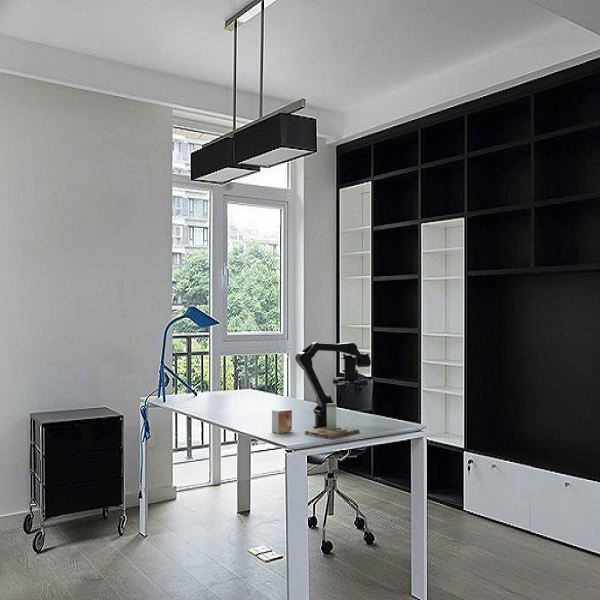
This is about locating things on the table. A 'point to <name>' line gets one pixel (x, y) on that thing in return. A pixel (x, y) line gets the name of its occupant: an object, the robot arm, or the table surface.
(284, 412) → the small box
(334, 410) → the bobbin
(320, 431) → the notched board
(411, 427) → the table surface
